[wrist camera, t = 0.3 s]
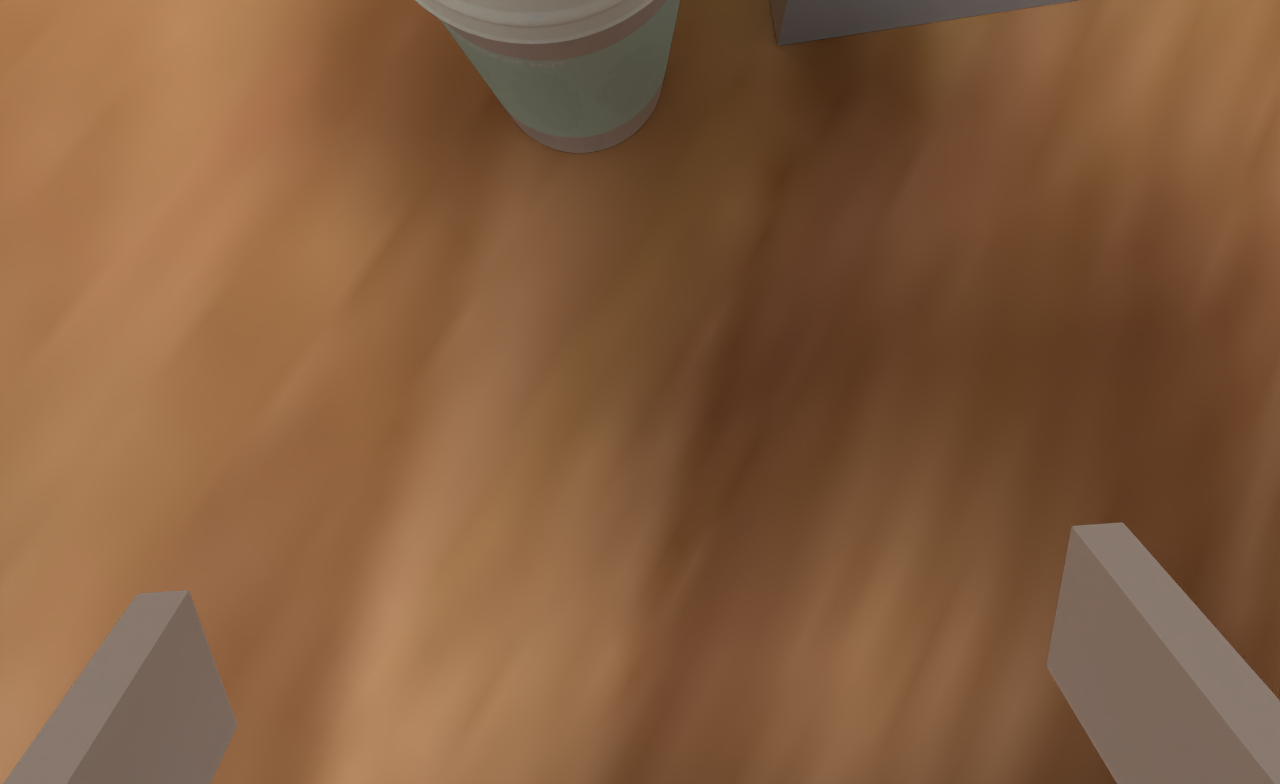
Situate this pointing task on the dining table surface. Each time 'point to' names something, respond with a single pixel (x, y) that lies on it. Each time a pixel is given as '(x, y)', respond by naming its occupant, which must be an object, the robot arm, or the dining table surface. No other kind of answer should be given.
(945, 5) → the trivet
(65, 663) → the dining table surface
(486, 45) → the coffee cup
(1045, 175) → the dining table surface
